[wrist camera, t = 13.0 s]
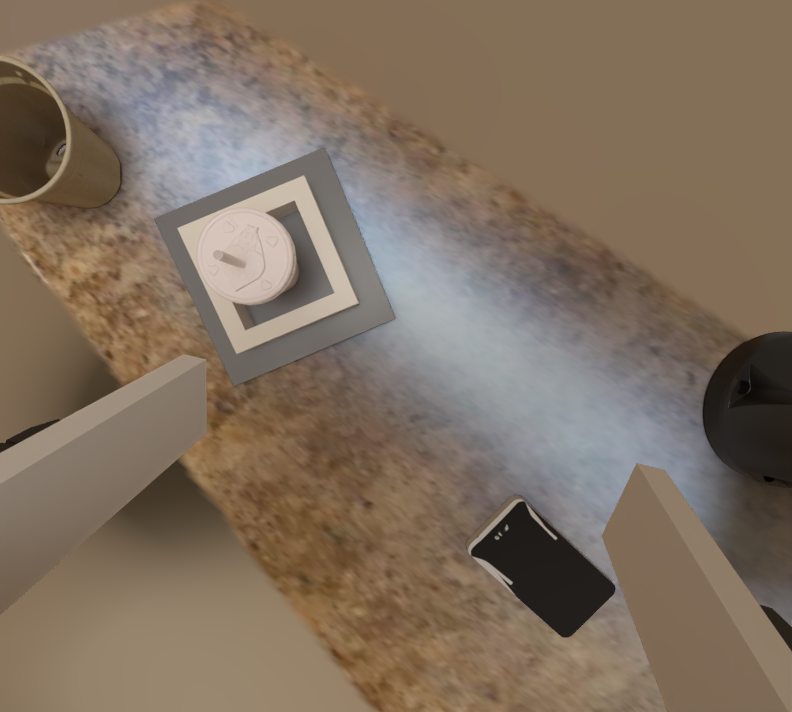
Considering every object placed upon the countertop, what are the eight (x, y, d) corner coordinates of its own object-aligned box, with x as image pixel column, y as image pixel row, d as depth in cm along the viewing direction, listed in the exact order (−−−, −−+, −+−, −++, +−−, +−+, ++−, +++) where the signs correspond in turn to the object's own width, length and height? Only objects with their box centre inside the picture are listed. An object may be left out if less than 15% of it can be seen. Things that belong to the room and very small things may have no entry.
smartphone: (566, 640, 43) (464, 550, 41) (560, 630, 44) (461, 542, 42) (618, 589, 42) (518, 495, 40) (611, 580, 44) (513, 489, 42)
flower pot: (120, 246, 37) (43, 226, 28) (14, 201, 36) (-98, 167, 27) (157, 145, 36) (90, 93, 27) (50, 96, 35) (-55, 28, 27)
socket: (395, 318, 39) (397, 318, 35) (237, 384, 39) (221, 392, 35) (326, 151, 37) (320, 132, 33) (159, 221, 37) (133, 210, 33)
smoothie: (233, 295, 37) (148, 284, 23) (251, 224, 36) (175, 169, 22) (304, 315, 37) (262, 317, 23) (322, 246, 37) (291, 204, 23)
